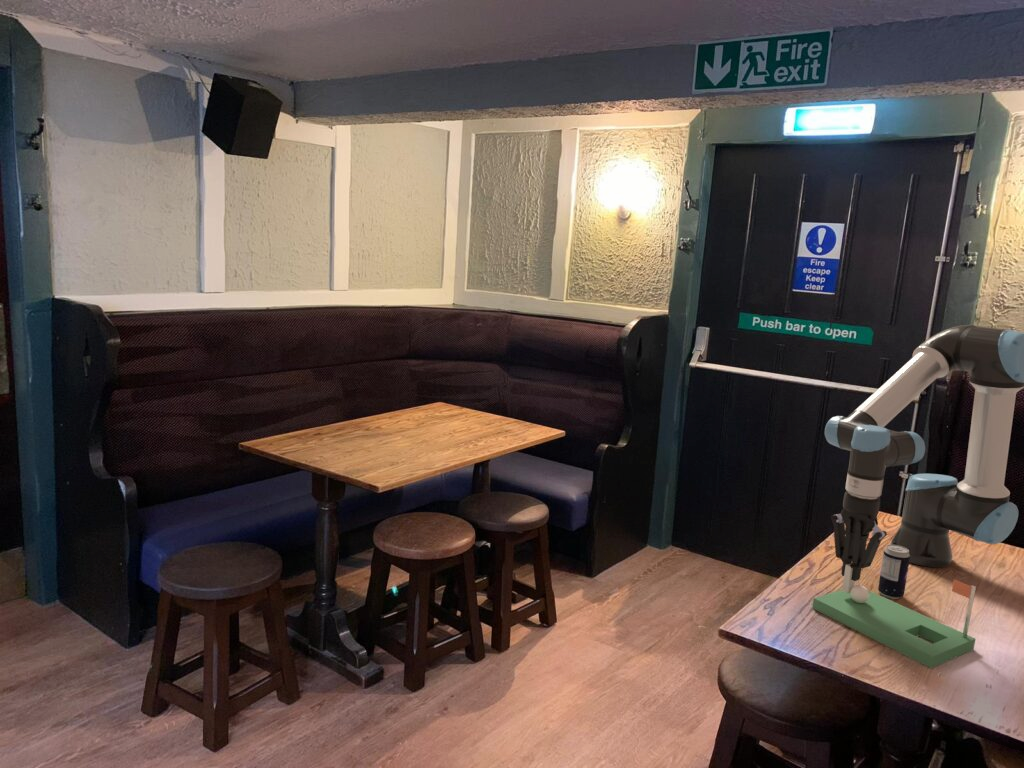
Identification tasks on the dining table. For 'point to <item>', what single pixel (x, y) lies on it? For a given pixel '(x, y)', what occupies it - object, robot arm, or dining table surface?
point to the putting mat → (896, 627)
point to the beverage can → (894, 571)
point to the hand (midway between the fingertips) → (848, 591)
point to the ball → (859, 594)
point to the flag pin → (969, 593)
